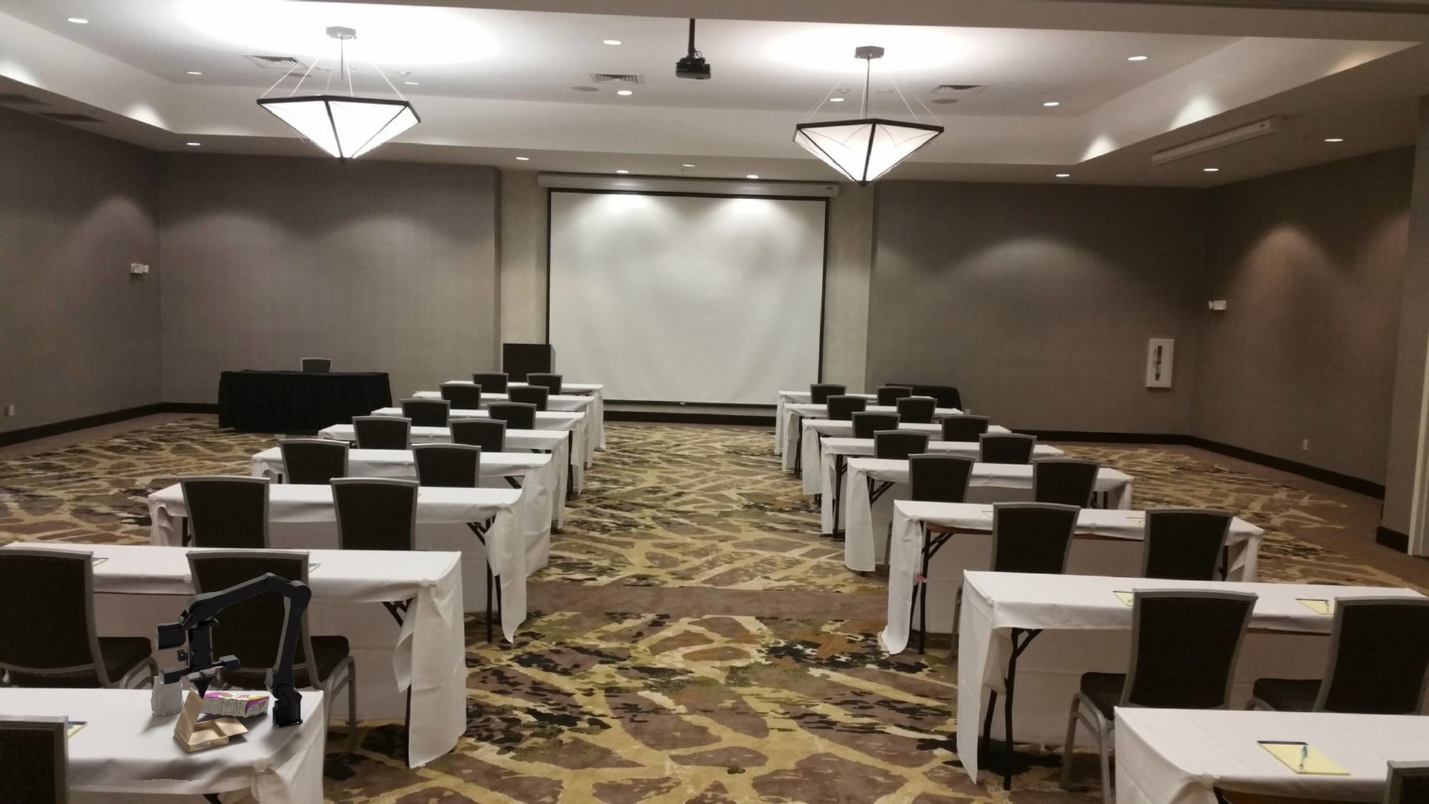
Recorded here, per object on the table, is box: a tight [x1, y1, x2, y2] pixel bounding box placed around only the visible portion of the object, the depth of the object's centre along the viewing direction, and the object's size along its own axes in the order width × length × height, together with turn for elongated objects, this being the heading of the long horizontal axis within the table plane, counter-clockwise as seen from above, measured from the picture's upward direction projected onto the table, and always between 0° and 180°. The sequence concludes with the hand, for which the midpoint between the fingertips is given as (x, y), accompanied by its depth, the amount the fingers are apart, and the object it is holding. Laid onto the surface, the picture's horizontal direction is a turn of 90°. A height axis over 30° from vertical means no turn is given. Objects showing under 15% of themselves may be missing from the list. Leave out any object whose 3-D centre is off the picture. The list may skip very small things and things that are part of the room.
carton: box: [173, 716, 249, 753], centre depth 277 cm, size 15×15×2 cm
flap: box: [174, 687, 204, 743], centre depth 273 cm, size 1×12×11 cm, turn 40°
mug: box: [150, 675, 185, 716], centre depth 292 cm, size 8×12×12 cm, turn 177°
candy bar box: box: [200, 691, 270, 719], centre depth 291 cm, size 11×5×16 cm
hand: (201, 700), depth 275 cm, fingers closed
